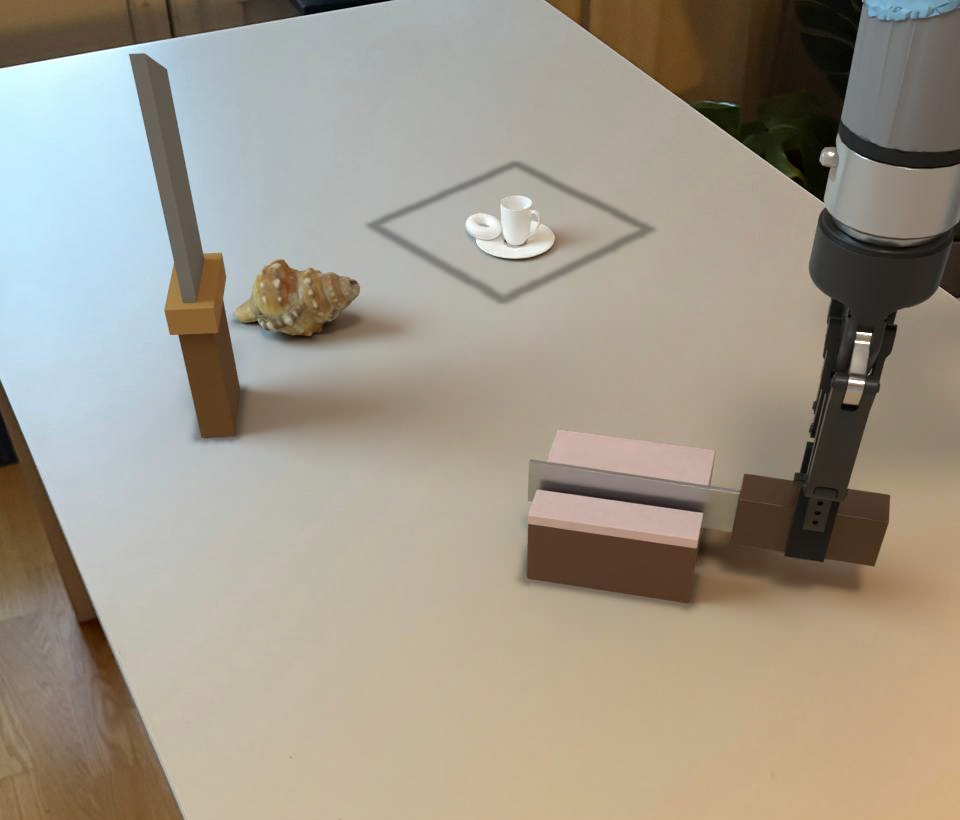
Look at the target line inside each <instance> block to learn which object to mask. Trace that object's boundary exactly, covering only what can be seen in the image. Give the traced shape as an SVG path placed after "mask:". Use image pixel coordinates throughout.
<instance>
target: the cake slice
mask: <svg viewBox="0 0 960 820" xmlns="http://www.w3.org/2000/svg"><path fill="white" fill-rule="evenodd" d="M531 502H532V501H531ZM702 520H703V513H699V512H692V511H685V510H678V509H671V508H664V507H657V506H650V505H643V504H636V503H629V502H622V501H615V500H608V499H601V498H594V497H586V496H579V495H572V494H565V493H558V492H551V491H544V490H537V491H536V493H535V496H534V499H533V502H532V503H531V505H530V508H529V511H528V515H527V551H526V552H527V555H526V579H528V580H535V581H539V582H540V581H541V582H547V583H553V584H560V585H566V586H573V587H580V588H586V589H592V590H598V591H607V592H611V593H612V592H613V593H618V594H623V595H631V596H637V597H643V598H644V597H645V598H651V599H657V600H664V601H671V602H677V603H683V604H689V602H690V596H691V591H692V587H693V581H694V575H695V569H696V564H697V561H696V558H697V559H698V556H697V551H698V545H699V539H700V533H701V526H702ZM698 552H699V551H698Z"/></svg>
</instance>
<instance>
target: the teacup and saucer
mask: <svg viewBox="0 0 960 820" xmlns="http://www.w3.org/2000/svg"><path fill="white" fill-rule="evenodd" d="M532 215H535V216H536V217H537V220H538V221H536V220H533V219H532ZM542 220H543V217H542V214H541V213H540V212H539V211H538V210H537V209H533V200H531V199H530V197H527V196H523V195H509V196H506V197H504V198H502V199H501V201H500V219H498V218H497V217H496V216H494V215H492V214H489V213H484V212H478V213H474V214H472V215H470V216H468V217H467V218H466V221H465V228H466V231H467V232H468V234H469V235H471V236H472V237H473V238H474V239H475V243H476V245H477V247H478V248H479V249H480V250H481V251H483V252H484V253H487V254H490V255H491V256H494V257H497V258H503V259H515V260H517V259H528V258H532V257H533V258H534V257H536V256H539V255H541V254H544V253H546V252H547V251H549V250H550V249H551V248H552V247H553V246H554V244H555V241H556V237H555V234H554V233H555V232H553V230H552V229H551V228H550V227H548V226H547V225H545V224H543V223H542ZM505 241H506V243H507V244H508V245H510V246H513V247H509V246H507V245H505ZM525 242H526V244H525ZM524 244H525V245H524ZM522 245H524V246H522ZM514 246H518V247H514ZM519 246H521V247H519Z"/></svg>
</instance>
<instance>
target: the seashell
mask: <svg viewBox="0 0 960 820" xmlns="http://www.w3.org/2000/svg"><path fill="white" fill-rule="evenodd" d="M360 292H361V285H360V284H359V282H358V281H357V280H356V279H354V278H351V277H350V276H345V275H341V276H340V275H339V274H337V273H336V272H332V271H329V272H321V270H319V269H314V267H308V268H306V269H304V270H298V269H295V268H292V267H290V265H288V263H287V262H286V260H285V259H284V258H276V259H275V260H273V261H272V262H271V263H270V264H268V265H264V266H263V267H262V268H261V270H260V272H259V273H258V274H257V275H256V276H255V278H254V281H253V284H252V286H251V294H250V297H249V298H248V299H247V300H246V301H244V302H243V303H242V304H241V305H239V306H238V307H236V308H235V311H234V315H235V319H236V320H237V321H239V322H241V323H245V324H247V323H252V322H253V323H254V322H258V325H259V326H260V327H261V328H262V329H263V330H265V331H267V332H270V331H271V332H273V333H275V332H280V333H284V334H286V335H290V336H305V337H311V336H312V335H313V334H318V333H321V332H322V331H323V326H324V324H326V323H331V322H332V321H333V320H335V319H337V318H338V317H339V316H340V315H341V313H342V311H344V310H346V309H347V308H348V307H350V305H351V304H352V303H353V301H355V300H356V299H357V298H358V297H359V295H360V294H361V293H360Z"/></svg>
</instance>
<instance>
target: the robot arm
mask: <svg viewBox="0 0 960 820" xmlns="http://www.w3.org/2000/svg"><path fill="white" fill-rule="evenodd" d="M861 2H862V7H861V13H860V18H859V23H858V28H857V33H856V39H855V43H854V44H855V45H854V50H853V55H852V59H851V64H850V65H851V66H850V71H849V75H848V81H847V87H846V91H845V97H844V101H843V107H842V112H841V115H840V119H839V123H838V124H839V125H838V130H837V135H836V139H835V145H836V146H828V147H827V146H826V147H825V146H824V148H823V149H822V150H821V152H820V156H819V162H820V164H821V165H822V166H823V167H828V168H830V169H829V172H828V176H827V182H826V187H825V191H824V197H823V203H824V208H822V210H821V211H820V213H819V214H818V218H817V223H816V229H815V232H814V233H815V234H814V238H813V243H812V247H811V252H810V257H809V261H808V273H809V276H810V280H811V281H812V282H813V284H814V285H815V287H816V288H817V289H818V290H819V291H820V292H822V293H823V294H824V295H825V296H827V297H828V298H830V301H829V305H828V308H827V309H828V310H827V317H826V325H827V326H826V331H825V335H824V344H823V352H822V358H823V363H822V368H821V373H820V380H819V384H818V389H817V393H816V398H815V400H814V401H813V403H812V407H811V408H812V411H813V413H812V414H813V419H812V422H811V424H810V425H809V428H808V433H809V438H810V439H814V440H813V441H806V445H805V447H804V453H803V458H802V461H801V466H800V470H799V472H795V471H794V474H793V486H797V487H800V490H799V494H798V498H797V502H796V507H795V511H794V515H793V519H792V523H791V528H790V532H789V536H788V540H787V544H786V548H785V553H784V555H783V557H785V558H791V559H799V560H804V561H810V562H819V563H824V562H825V560H826V559H825V556H826V552H827V548H828V545H829V541H830V537H831V534H832V530H833V526H834V523H835V519H836V515H837V512H838V508H839V505H840V502H843V501H845V497H847V494H848V489H849V488H848V487H849V485H850V481H851V478H852V474H853V470H854V468H855V464H856V460H857V456H858V453H859V450H860V447H861V443H862V440H863V436H864V433H865V429H866V426H867V423H868V419H869V416H870V412H871V409H872V407H873V405H874V401H875V399H876V396H877V394H878V393H880V389H881V377H882V374H883V369H884V365H885V362H886V359H887V358H888V357H889V356H890V355H891V353H892V351H893V348H894V344H895V341H896V336H897V332H898V324H896V323H895V321H896V317H897V313H898V311H901V310H904V309H909V308H912V307H915V306H918V305H920V304H923V303H924V302H926V301H928V300H929V299H930V298H932V297H933V295H935V294H936V292H937V290H938V289H939V287H940V285H941V282H942V279H943V276H944V273H945V269H946V265H947V262H948V260H949V259H948V258H949V256H950V252H951V249H952V245H953V242H954V239H955V234H956V233H955V227H954V226H956V225H957V224H958V223H959V222H960V0H861Z"/></svg>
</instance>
